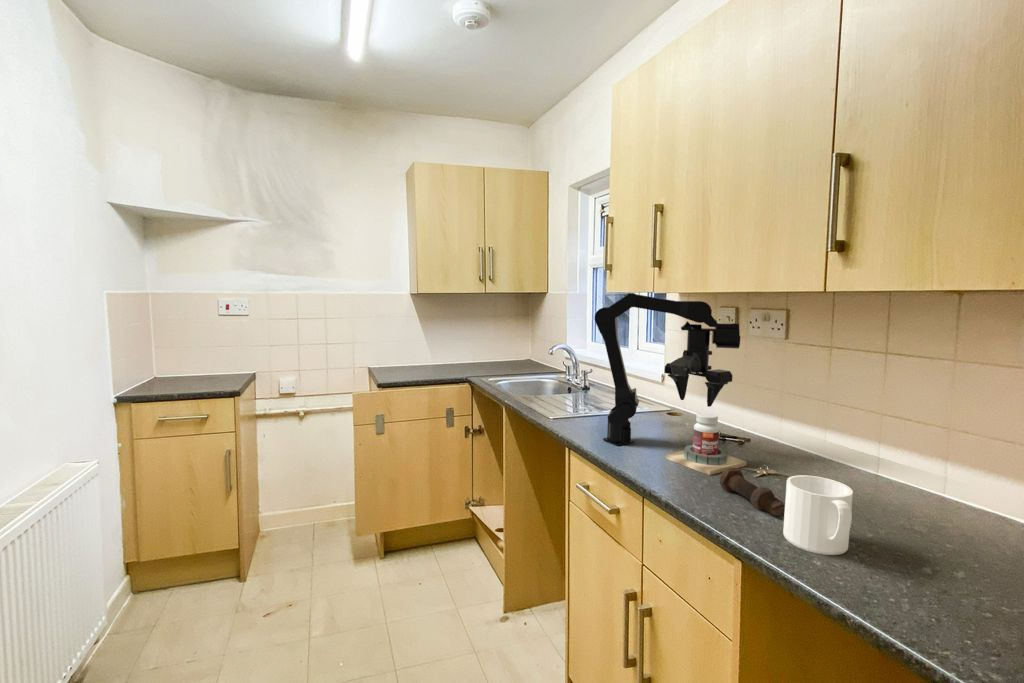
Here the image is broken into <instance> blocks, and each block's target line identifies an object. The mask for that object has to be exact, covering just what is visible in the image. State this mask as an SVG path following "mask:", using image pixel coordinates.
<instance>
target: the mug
mask: <svg viewBox="0 0 1024 683" xmlns="http://www.w3.org/2000/svg"><path fill="white" fill-rule="evenodd" d="M786 479H787V480H786V484H785V485H786V487H785V501H784V503H785V504H784V505H785V509H784V516H783V530H782V534H783V537H784V538H785V539H786V541H787V542H788V543H790V544H791V545H793V546H795V547H797V548H799V549H801V550H803V551H805V552H806V551H807V552H810V553H813V554H817V555H823V556H838V555H843V554H844V553H846V552H847V551H848V550H849V544H850V543H849V542H850V531H851V526H852V519H853V518H852V517H853V513H852V506H853V505H852V504H853V495H854V490H853V489H852V488H851V487H849V485H846V484H844V483H843V482H839V481H837V480H835V479H834V480H833V479H830V478H826V477H823V476H822V477H821V476H815V475H808V474H807V475H802V474H801V475H792V476H789V477H787V478H786Z"/></svg>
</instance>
